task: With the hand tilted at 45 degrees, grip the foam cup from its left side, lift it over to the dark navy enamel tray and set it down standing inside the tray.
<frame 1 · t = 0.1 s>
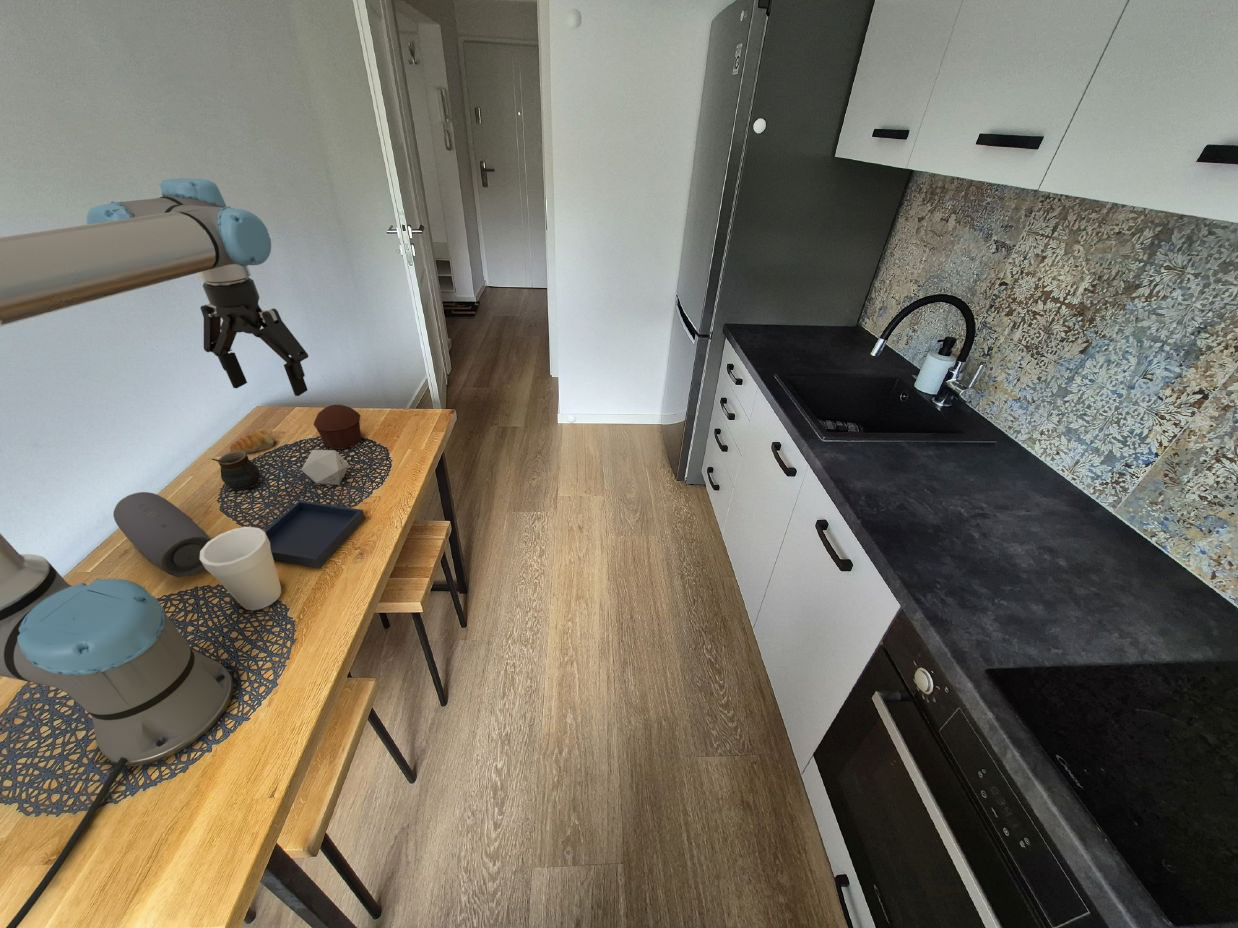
hand: (270, 389, 99), 28 cm above the table, tool pointing down, fingers open, 13 cm apart
pastry: (256, 447, 131), on the table
foam cup: (262, 597, 91), on the table
tray: (310, 536, 104), on the table
die: (331, 481, 121), on the table
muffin: (344, 441, 135), on the table
dark brown pitcher: (246, 485, 118), on the table
bluetooth speaker: (177, 552, 99), on the table
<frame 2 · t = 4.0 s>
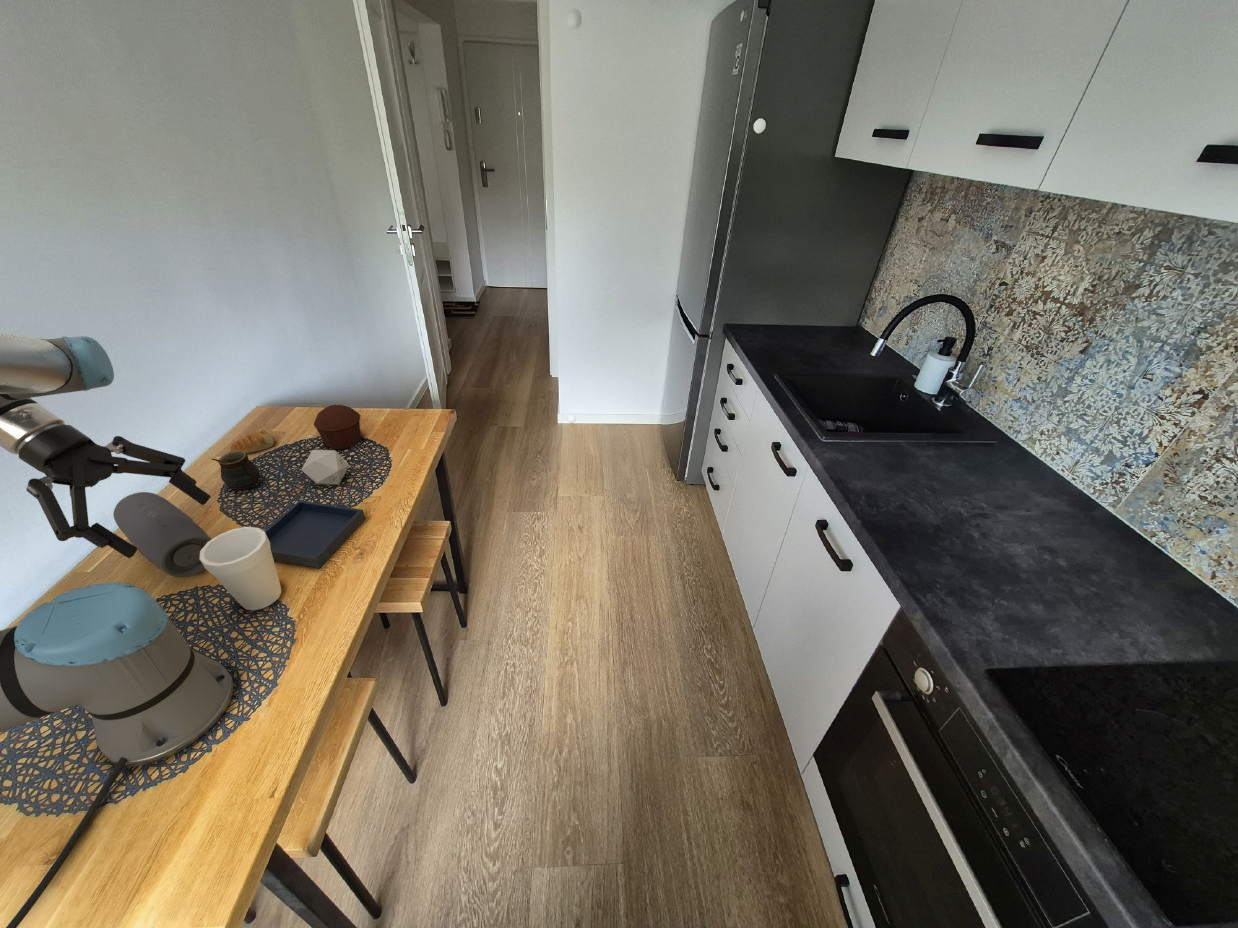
hand: (172, 525, 84), 15 cm above the table, tool tilted 45°, fingers open, 13 cm apart
nothing on the table moved.
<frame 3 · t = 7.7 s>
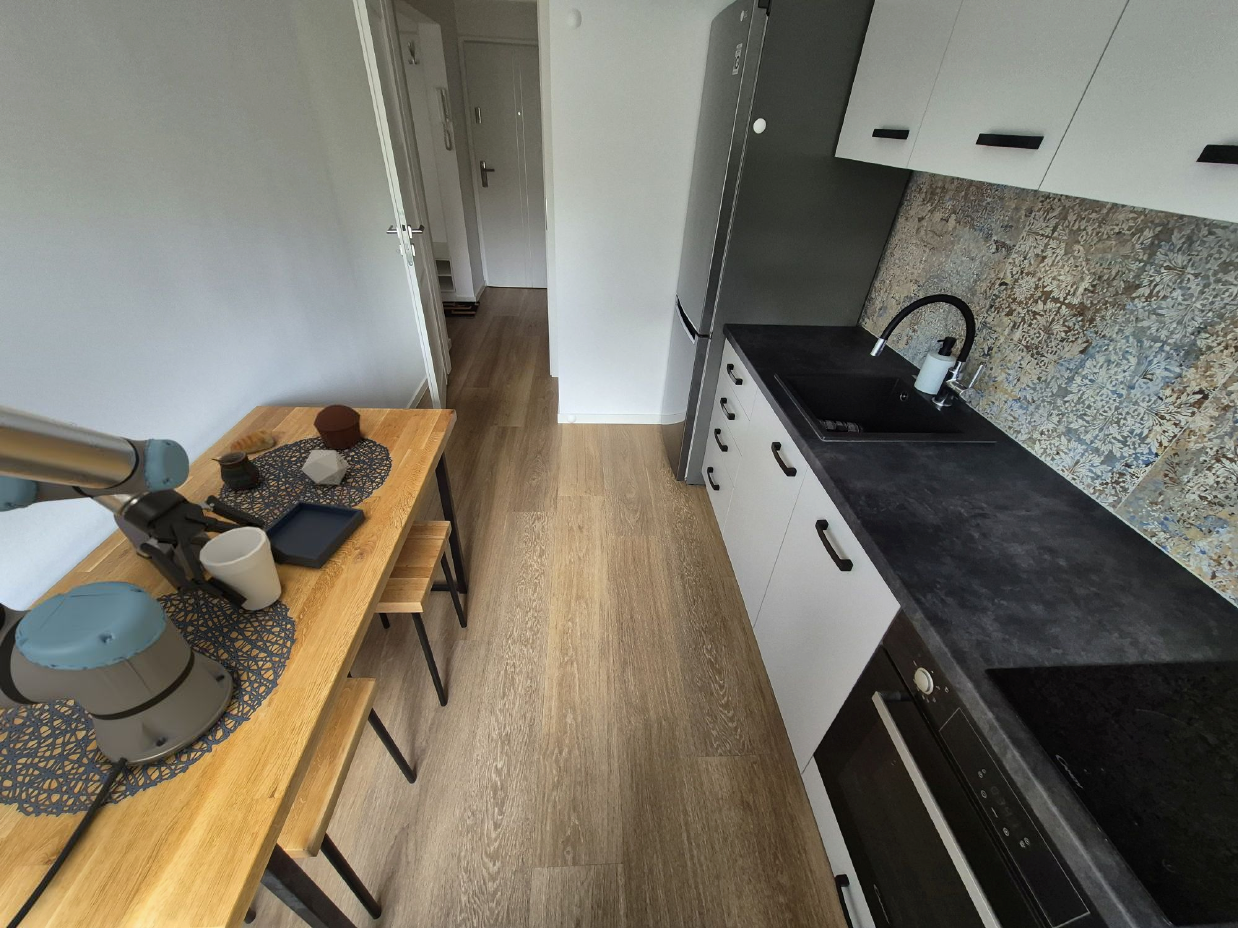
hand: (265, 581, 88), 5 cm above the table, tool tilted 45°, fingers closed on foam cup, 9 cm apart
foam cup: (262, 597, 91), on the table, touching gripper
everything else where it was.
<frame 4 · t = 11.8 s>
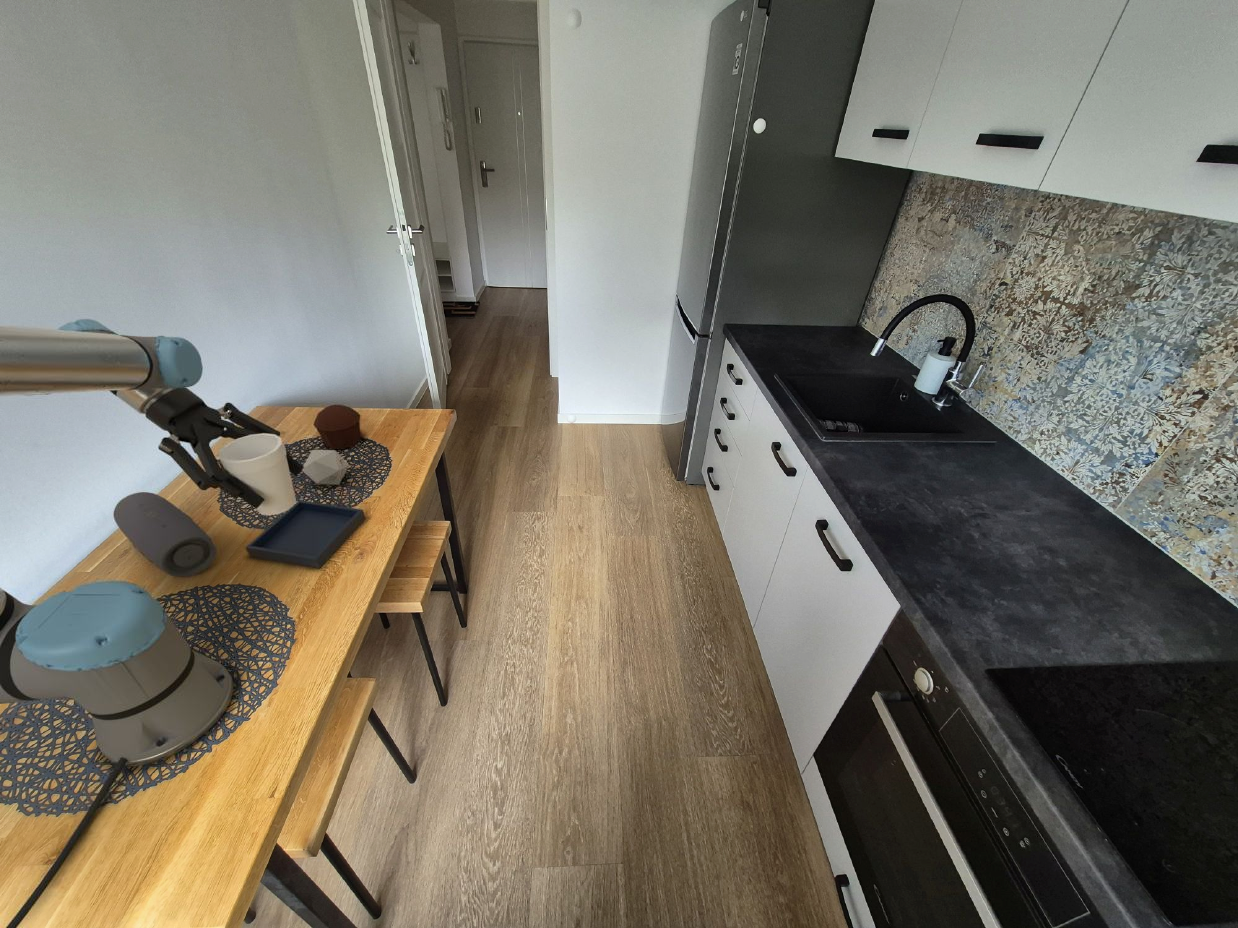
hand: (281, 487, 91), 17 cm above the table, tool tilted 45°, fingers closed on foam cup, 9 cm apart
foam cup: (277, 505, 94), point 12 cm above the table, touching gripper
everything else where it was.
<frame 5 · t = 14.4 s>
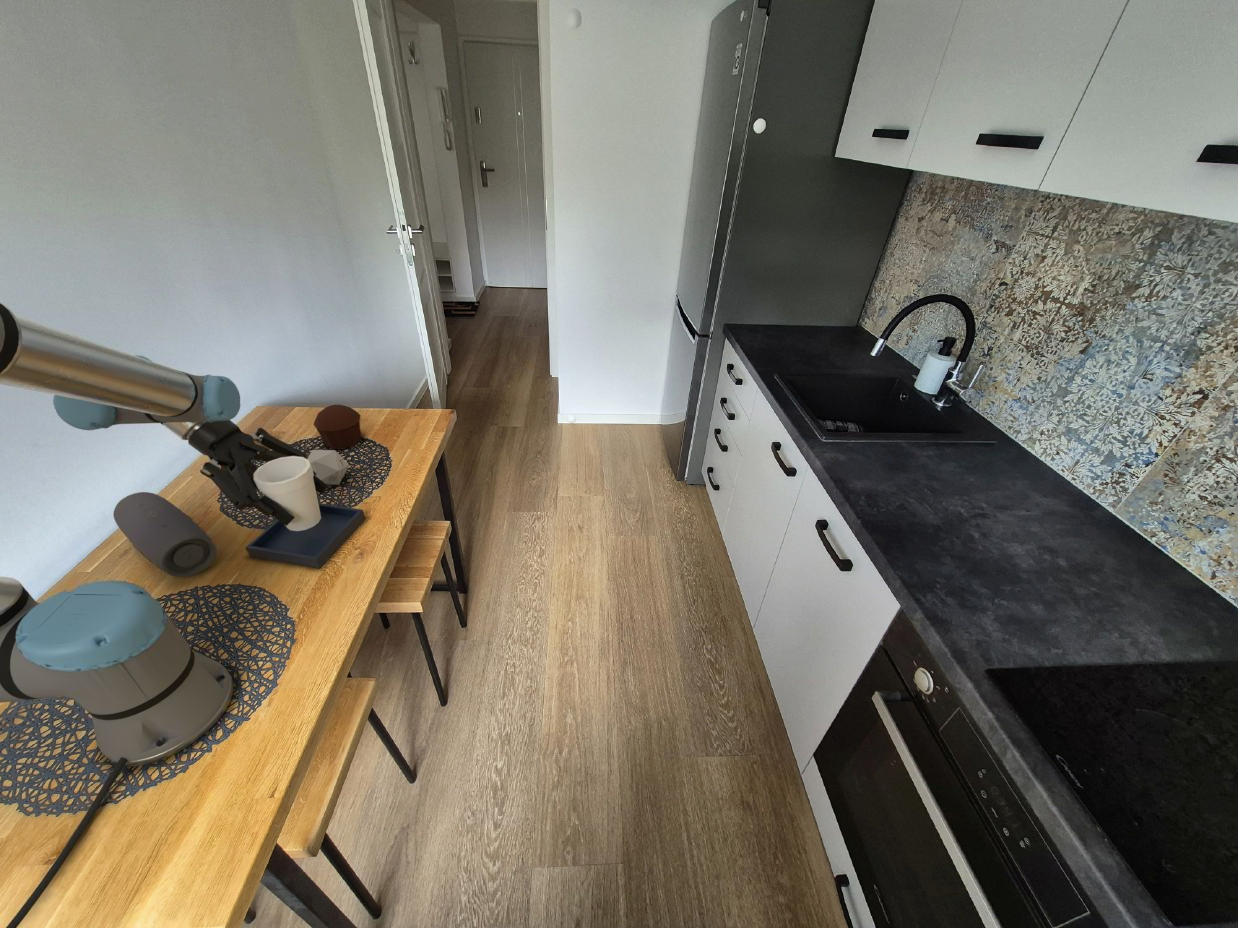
hand: (308, 505, 99), 9 cm above the table, tool tilted 45°, fingers closed on foam cup, 9 cm apart
foam cup: (304, 521, 102), point 4 cm above the table, touching gripper
everything else where it was.
when the fingers open (5 cm above the table, at t = 16.0 s): foam cup stays where it is, resting on tray.
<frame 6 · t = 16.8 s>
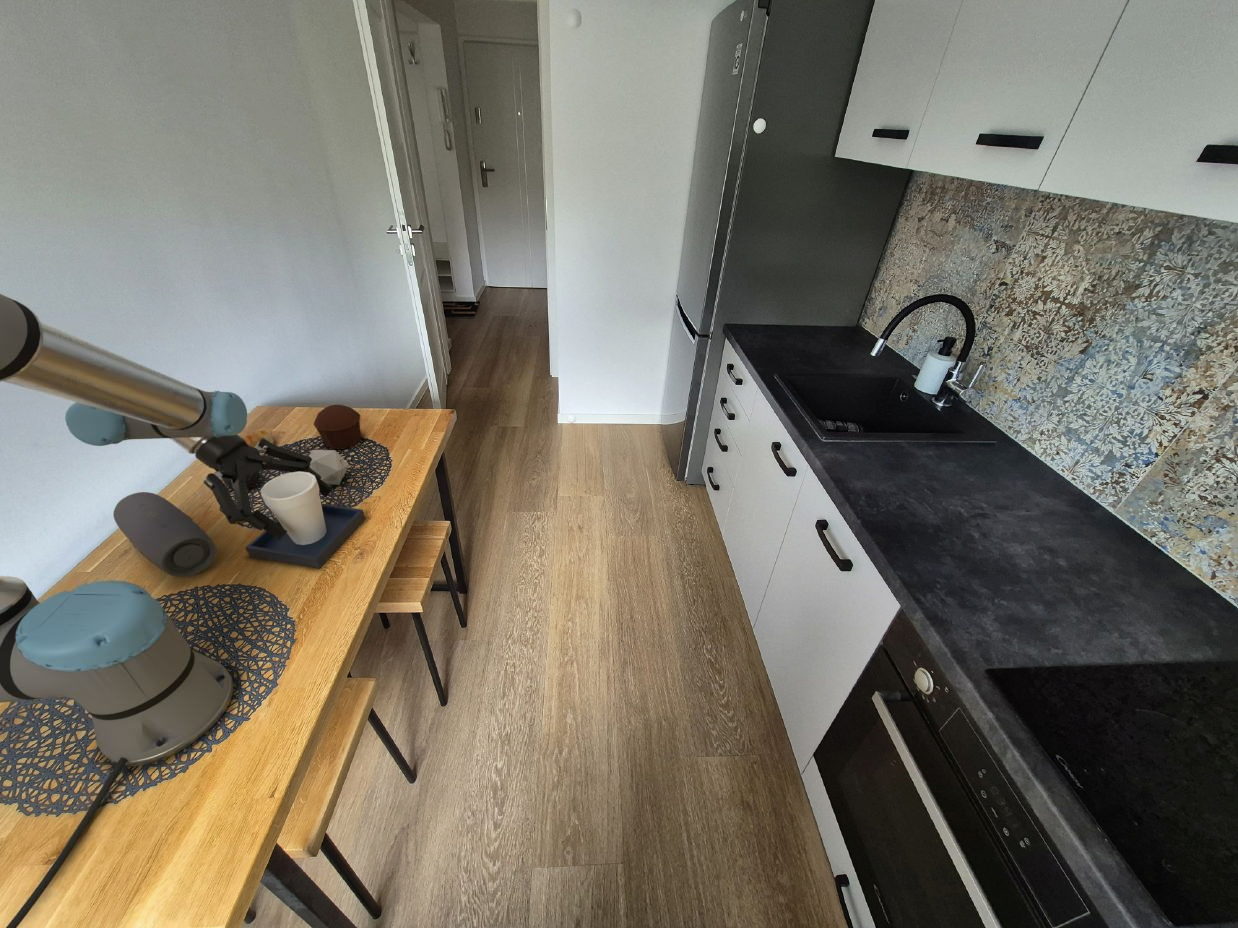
hand: (308, 513, 100), 7 cm above the table, tool tilted 45°, fingers open, 13 cm apart
foam cup: (310, 535, 104), resting on tray
everything else where it was.
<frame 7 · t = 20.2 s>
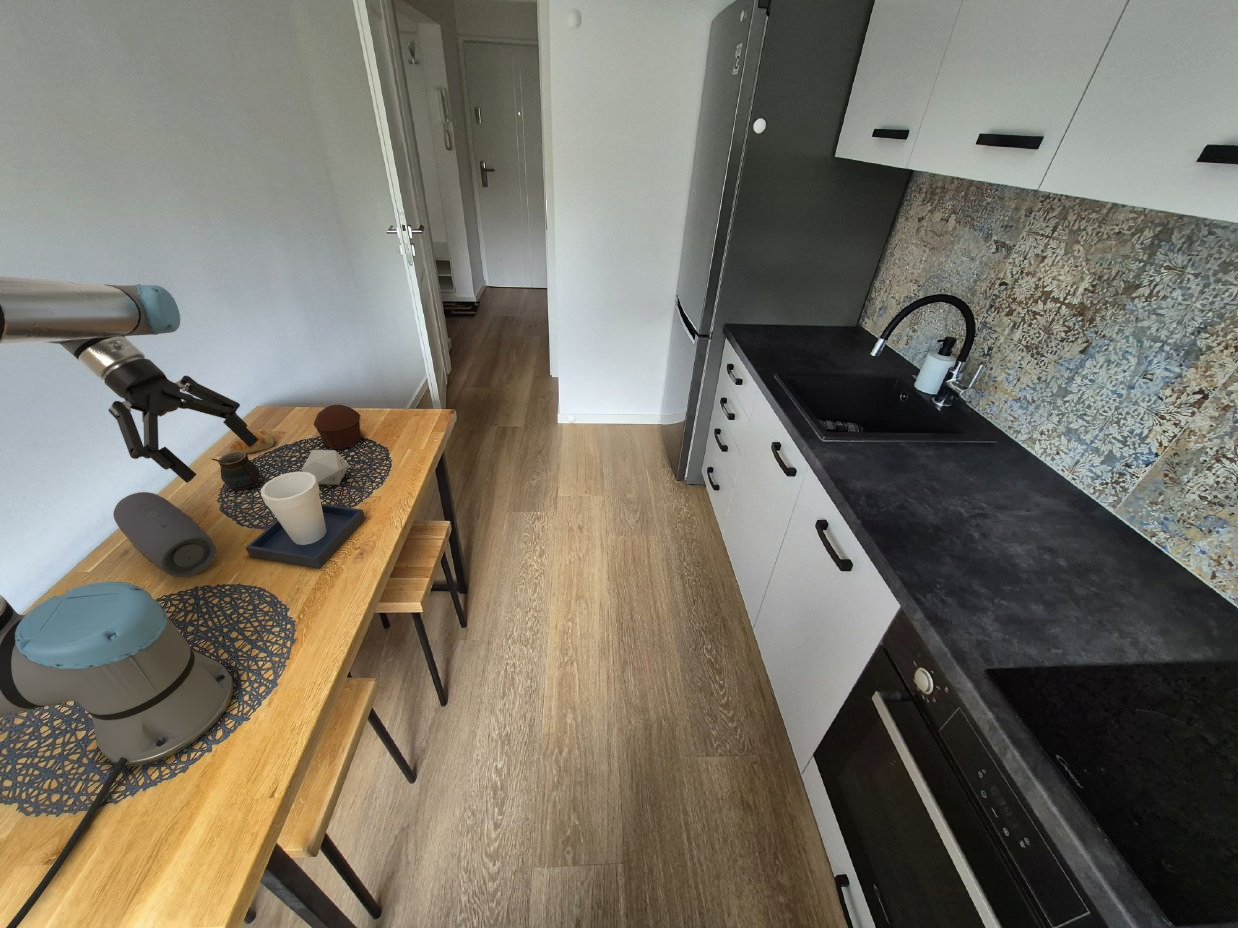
hand: (225, 460, 94), 19 cm above the table, tool tilted 40°, fingers open, 13 cm apart
nothing on the table moved.
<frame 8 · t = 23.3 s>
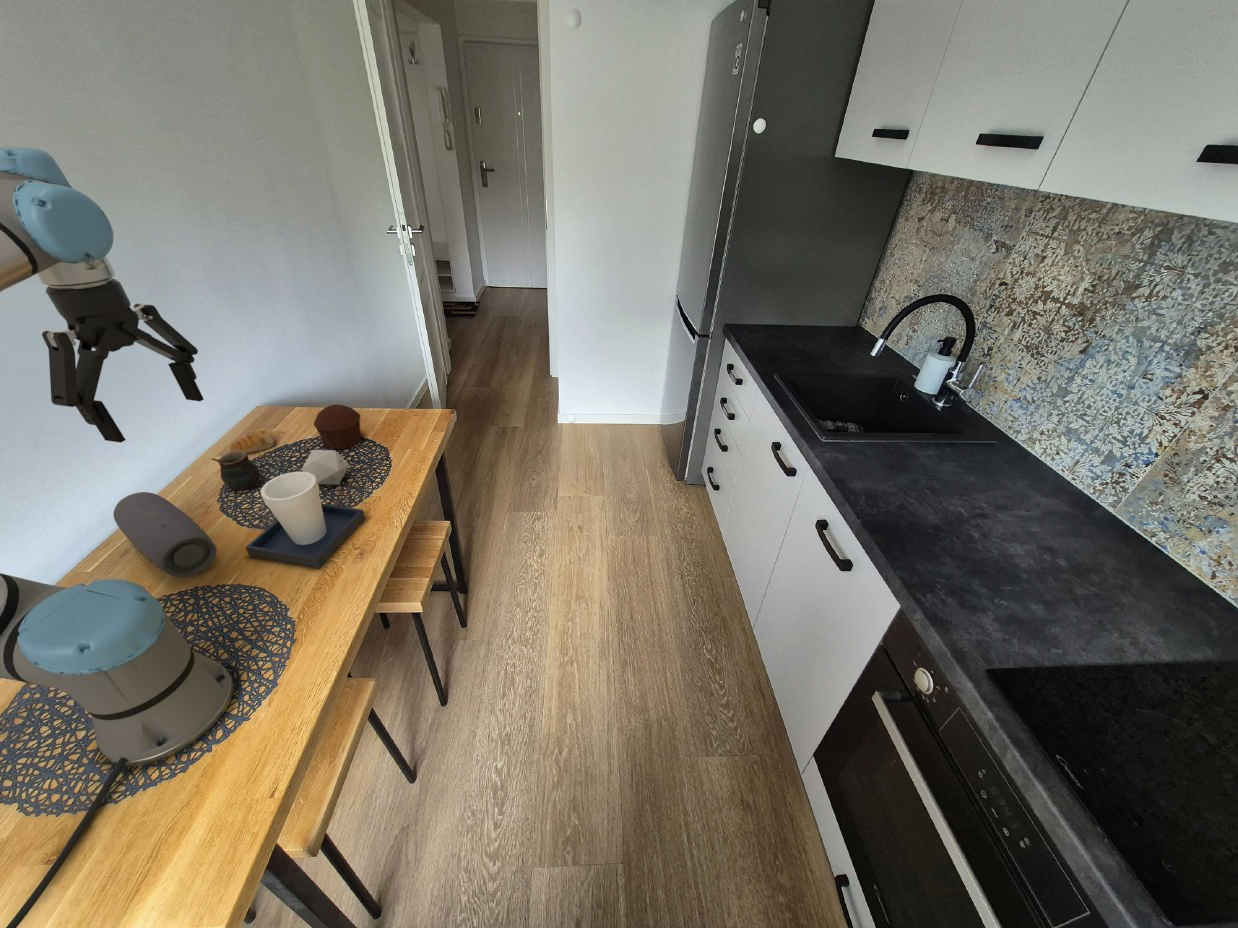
hand: (158, 418, 79), 33 cm above the table, tool pointing down, fingers open, 13 cm apart
nothing on the table moved.
at the end: foam cup inside the target area in the tray (0.1 cm from its centre), point 0.4 cm above the tray's base; foam cup tilted 0°; the gripper is holding nothing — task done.
